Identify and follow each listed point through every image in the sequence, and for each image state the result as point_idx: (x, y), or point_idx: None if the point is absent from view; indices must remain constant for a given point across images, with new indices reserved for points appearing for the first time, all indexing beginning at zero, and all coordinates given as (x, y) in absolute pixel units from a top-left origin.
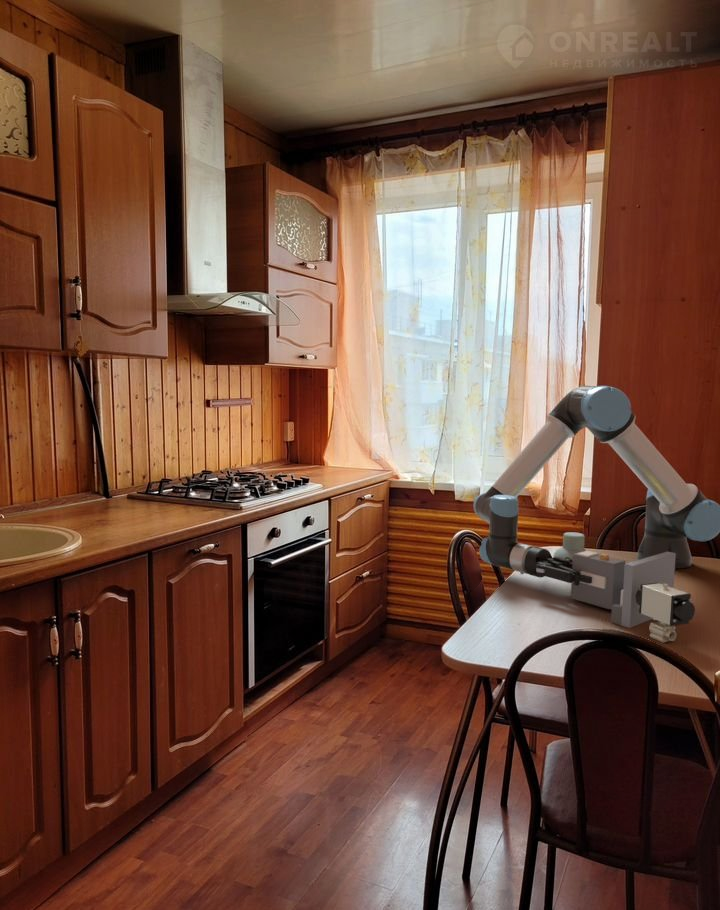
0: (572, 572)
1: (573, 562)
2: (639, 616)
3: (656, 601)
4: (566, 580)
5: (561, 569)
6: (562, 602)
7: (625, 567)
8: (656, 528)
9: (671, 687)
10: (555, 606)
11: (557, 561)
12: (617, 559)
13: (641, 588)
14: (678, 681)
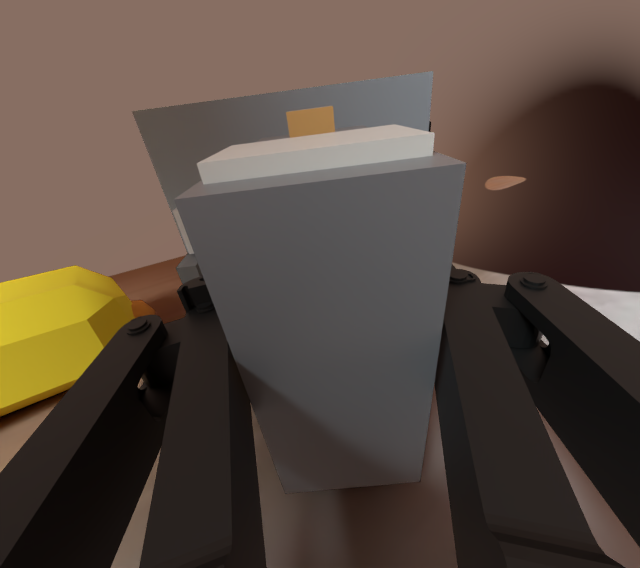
0: (508, 278)
1: (444, 262)
2: None
3: None
4: (545, 346)
5: (599, 362)
6: None
7: (431, 85)
8: None
9: (515, 180)
10: (577, 487)
11: None
12: (271, 139)
13: (429, 131)
14: (493, 184)
